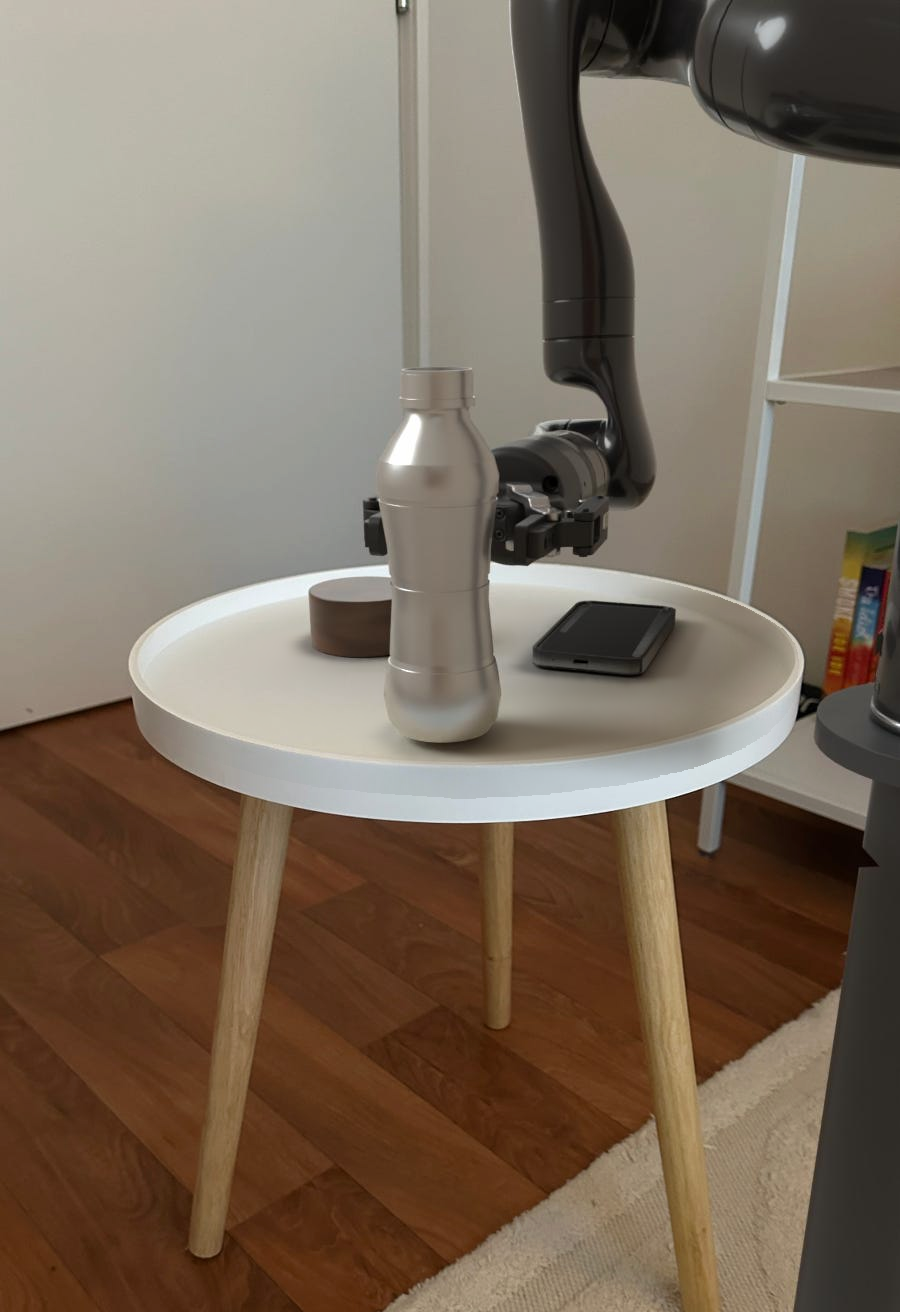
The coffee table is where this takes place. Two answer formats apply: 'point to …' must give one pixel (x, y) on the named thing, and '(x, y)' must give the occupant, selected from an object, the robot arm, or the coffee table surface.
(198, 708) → the coffee table surface
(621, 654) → the phone
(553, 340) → the robot arm
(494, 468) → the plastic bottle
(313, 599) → the cylinder
